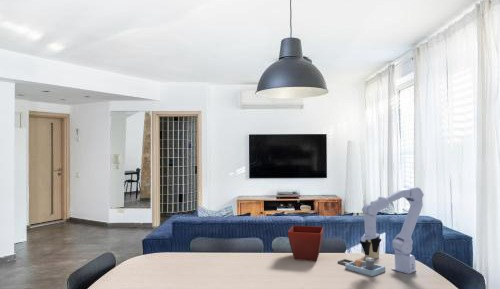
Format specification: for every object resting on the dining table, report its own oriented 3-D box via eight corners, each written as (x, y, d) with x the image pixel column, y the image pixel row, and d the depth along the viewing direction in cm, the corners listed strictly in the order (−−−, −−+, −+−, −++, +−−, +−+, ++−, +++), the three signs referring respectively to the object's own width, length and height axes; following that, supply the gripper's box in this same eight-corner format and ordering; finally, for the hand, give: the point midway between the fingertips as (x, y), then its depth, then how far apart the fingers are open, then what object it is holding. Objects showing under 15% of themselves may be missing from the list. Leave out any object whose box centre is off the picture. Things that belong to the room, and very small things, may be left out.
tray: (385, 271, 180) (385, 266, 180) (372, 276, 173) (372, 271, 173) (358, 264, 193) (358, 259, 193) (345, 268, 185) (345, 264, 185)
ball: (357, 266, 189) (357, 257, 189) (364, 268, 185) (364, 259, 186) (352, 267, 186) (352, 258, 187) (359, 269, 183) (359, 260, 183)
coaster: (355, 263, 194) (355, 261, 194) (347, 265, 190) (347, 264, 190) (344, 260, 200) (344, 258, 200) (337, 263, 195) (337, 261, 195)
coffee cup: (382, 258, 203) (382, 238, 203) (366, 258, 203) (366, 238, 203) (377, 254, 212) (376, 234, 212) (361, 254, 212) (361, 234, 212)
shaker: (369, 269, 183) (369, 256, 184) (376, 271, 180) (375, 258, 180) (364, 270, 181) (363, 258, 181) (371, 273, 177) (370, 260, 178)
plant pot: (287, 261, 200) (287, 231, 201) (293, 252, 218) (292, 225, 219) (321, 263, 195) (320, 233, 195) (324, 254, 213) (323, 226, 213)
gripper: (371, 224, 188) (371, 249, 188) (355, 227, 179) (356, 254, 179) (383, 226, 183) (383, 252, 182) (367, 229, 174) (368, 257, 173)
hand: (370, 253), depth 180 cm, fingers open, 7 cm apart
